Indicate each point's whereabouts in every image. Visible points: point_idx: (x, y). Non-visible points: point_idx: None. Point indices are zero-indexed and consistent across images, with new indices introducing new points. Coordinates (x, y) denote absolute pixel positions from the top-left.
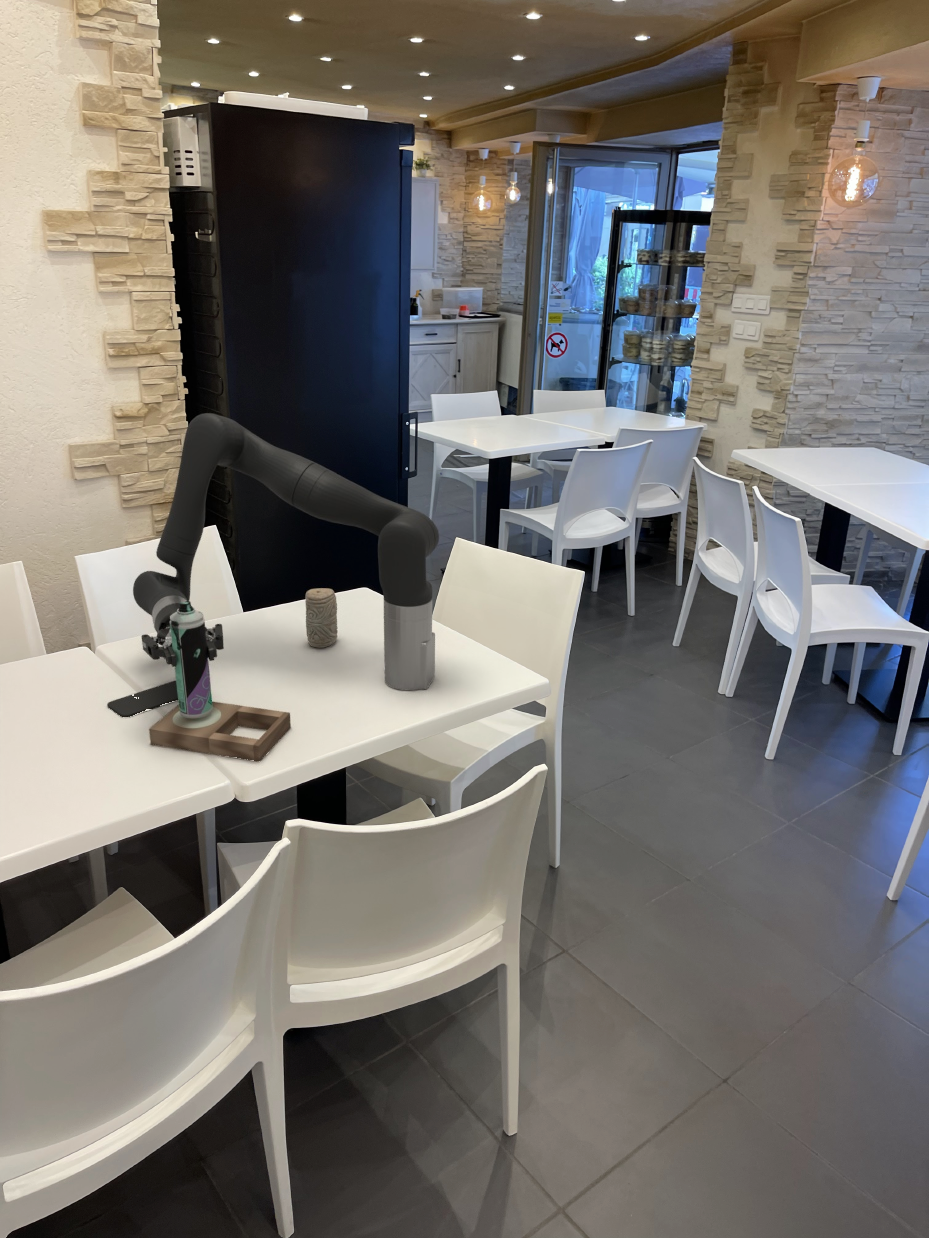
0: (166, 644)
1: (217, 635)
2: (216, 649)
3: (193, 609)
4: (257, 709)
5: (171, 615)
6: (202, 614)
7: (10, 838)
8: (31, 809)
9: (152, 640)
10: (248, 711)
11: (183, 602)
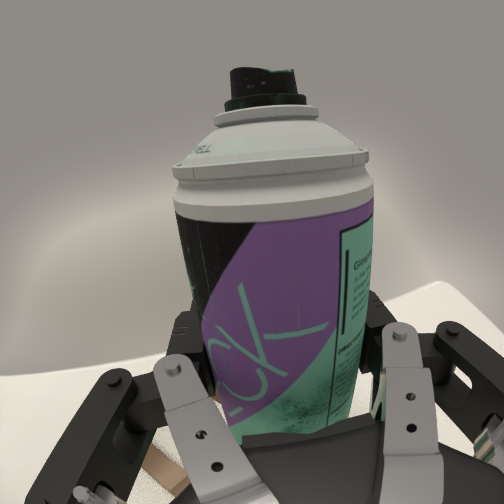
0: (398, 327)
1: (120, 379)
2: (178, 320)
3: (221, 124)
4: (146, 461)
5: (364, 150)
6: (179, 165)
7: (458, 291)
8: (470, 319)
9: (490, 374)
10: (166, 461)
11: (271, 70)
